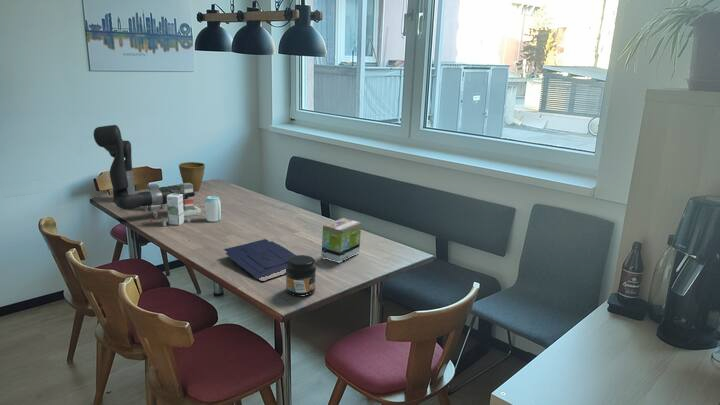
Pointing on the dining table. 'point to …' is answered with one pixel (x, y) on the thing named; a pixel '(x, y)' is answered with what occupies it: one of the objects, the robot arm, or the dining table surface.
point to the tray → (192, 212)
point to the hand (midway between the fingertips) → (192, 193)
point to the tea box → (341, 239)
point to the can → (213, 209)
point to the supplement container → (300, 275)
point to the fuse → (150, 188)
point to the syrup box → (175, 209)
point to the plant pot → (192, 173)
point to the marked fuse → (189, 202)
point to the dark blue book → (260, 257)
